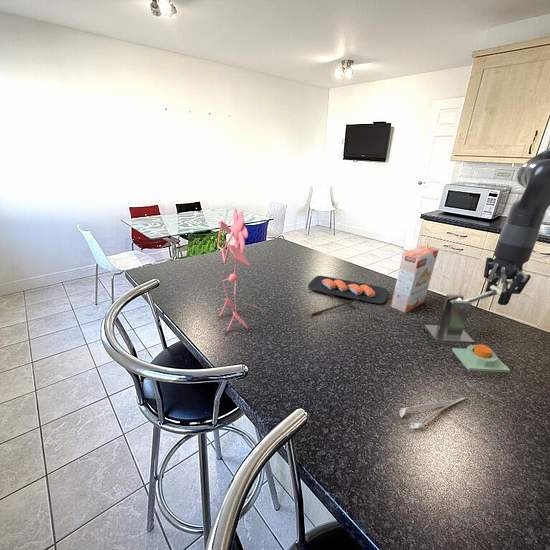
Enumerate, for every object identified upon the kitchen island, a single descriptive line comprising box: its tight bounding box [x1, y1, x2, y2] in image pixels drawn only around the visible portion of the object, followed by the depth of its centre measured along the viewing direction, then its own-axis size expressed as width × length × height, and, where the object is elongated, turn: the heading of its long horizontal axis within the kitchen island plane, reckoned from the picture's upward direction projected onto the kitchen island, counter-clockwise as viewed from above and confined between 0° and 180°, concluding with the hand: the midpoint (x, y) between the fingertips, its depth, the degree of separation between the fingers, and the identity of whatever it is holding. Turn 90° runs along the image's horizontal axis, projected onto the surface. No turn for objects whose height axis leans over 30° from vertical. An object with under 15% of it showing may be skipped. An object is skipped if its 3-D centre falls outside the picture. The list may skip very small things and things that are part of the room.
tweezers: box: [399, 396, 467, 430], centre depth 62 cm, size 17×5×2 cm, turn 112°
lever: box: [450, 285, 502, 308], centre depth 82 cm, size 13×5×2 cm, turn 87°
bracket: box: [423, 294, 476, 344], centre depth 85 cm, size 11×8×13 cm
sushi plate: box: [307, 275, 389, 316], centre depth 106 cm, size 29×30×4 cm
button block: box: [451, 344, 511, 373], centre depth 76 cm, size 10×8×4 cm
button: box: [474, 343, 493, 358], centre depth 75 cm, size 4×4×2 cm
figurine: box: [216, 208, 267, 343], centre depth 87 cm, size 15×26×35 cm, turn 23°
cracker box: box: [390, 245, 439, 314], centre depth 100 cm, size 14×6×21 cm, turn 130°
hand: (495, 299), depth 82 cm, fingers closed on lever, 5 cm apart
